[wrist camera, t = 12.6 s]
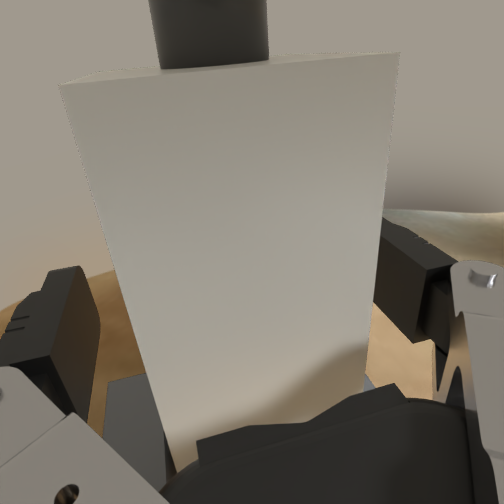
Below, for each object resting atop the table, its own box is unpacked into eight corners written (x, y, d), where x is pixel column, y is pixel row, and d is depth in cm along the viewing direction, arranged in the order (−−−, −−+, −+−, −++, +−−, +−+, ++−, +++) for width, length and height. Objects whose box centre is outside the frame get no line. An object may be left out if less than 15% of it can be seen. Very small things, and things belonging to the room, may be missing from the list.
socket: (126, 430, 18) (108, 382, 16) (329, 374, 20) (331, 326, 19) (112, 827, 9) (65, 810, 7) (491, 647, 11) (526, 600, 9)
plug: (200, 473, 16) (64, -66, 7) (298, 444, 17) (287, -71, 8) (218, 608, 12) (-35, -216, 3) (344, 560, 13) (427, -196, 4)
